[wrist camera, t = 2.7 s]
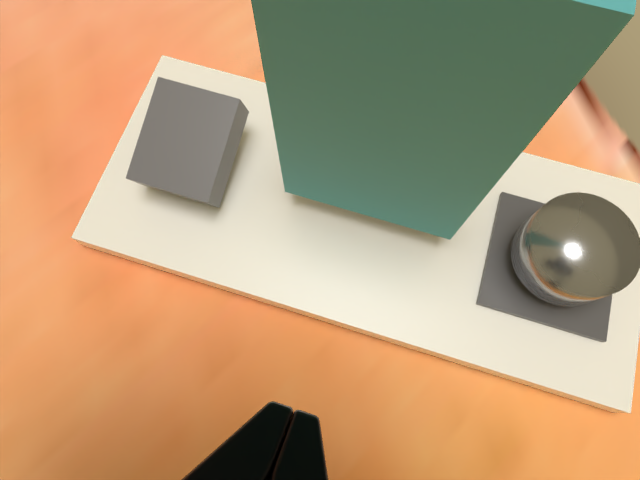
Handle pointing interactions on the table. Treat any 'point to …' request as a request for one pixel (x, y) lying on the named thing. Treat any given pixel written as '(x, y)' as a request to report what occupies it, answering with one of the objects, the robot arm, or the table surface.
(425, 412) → the table surface
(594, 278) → the button
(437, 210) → the paddle
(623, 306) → the panel
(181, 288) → the table surface
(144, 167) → the grey block
